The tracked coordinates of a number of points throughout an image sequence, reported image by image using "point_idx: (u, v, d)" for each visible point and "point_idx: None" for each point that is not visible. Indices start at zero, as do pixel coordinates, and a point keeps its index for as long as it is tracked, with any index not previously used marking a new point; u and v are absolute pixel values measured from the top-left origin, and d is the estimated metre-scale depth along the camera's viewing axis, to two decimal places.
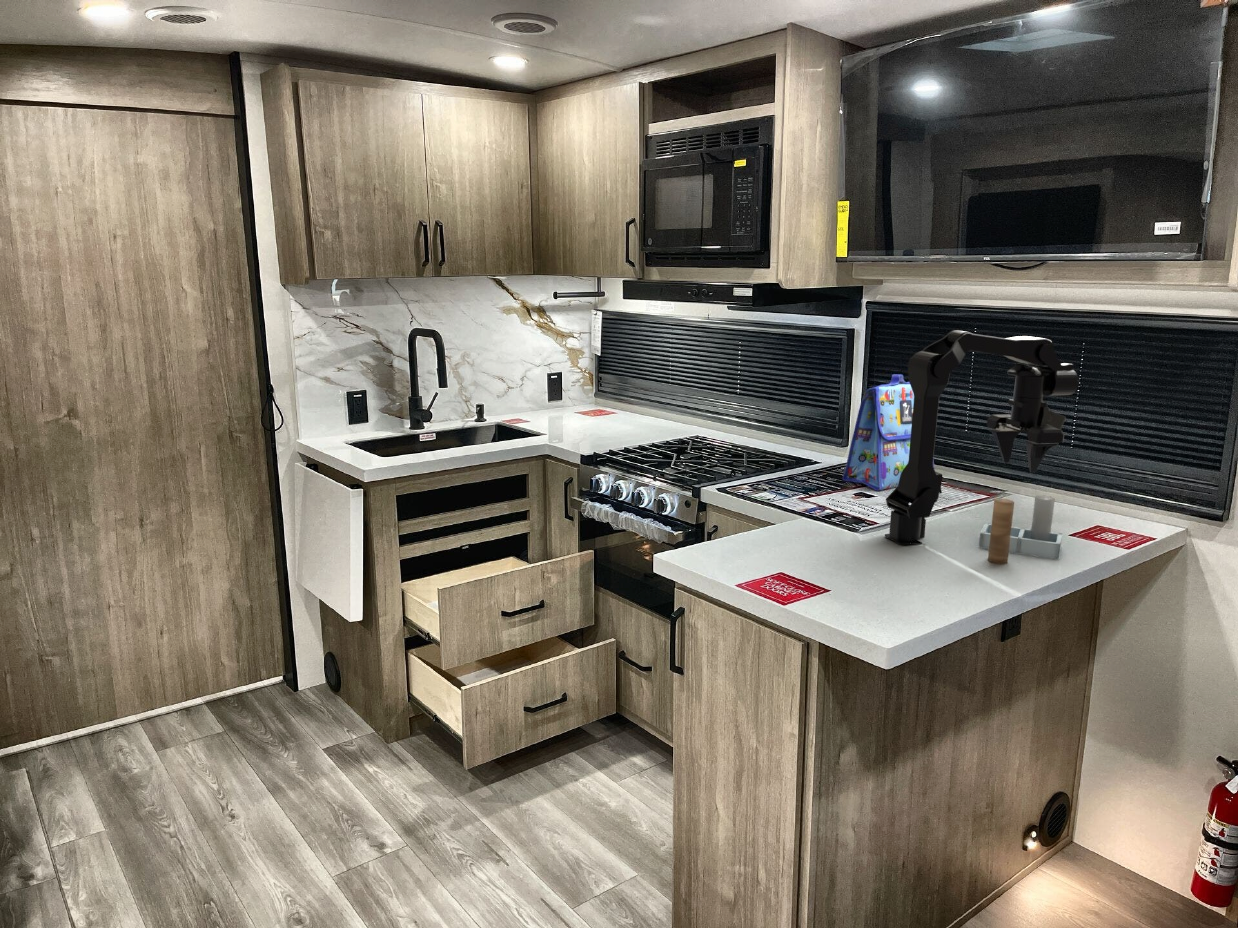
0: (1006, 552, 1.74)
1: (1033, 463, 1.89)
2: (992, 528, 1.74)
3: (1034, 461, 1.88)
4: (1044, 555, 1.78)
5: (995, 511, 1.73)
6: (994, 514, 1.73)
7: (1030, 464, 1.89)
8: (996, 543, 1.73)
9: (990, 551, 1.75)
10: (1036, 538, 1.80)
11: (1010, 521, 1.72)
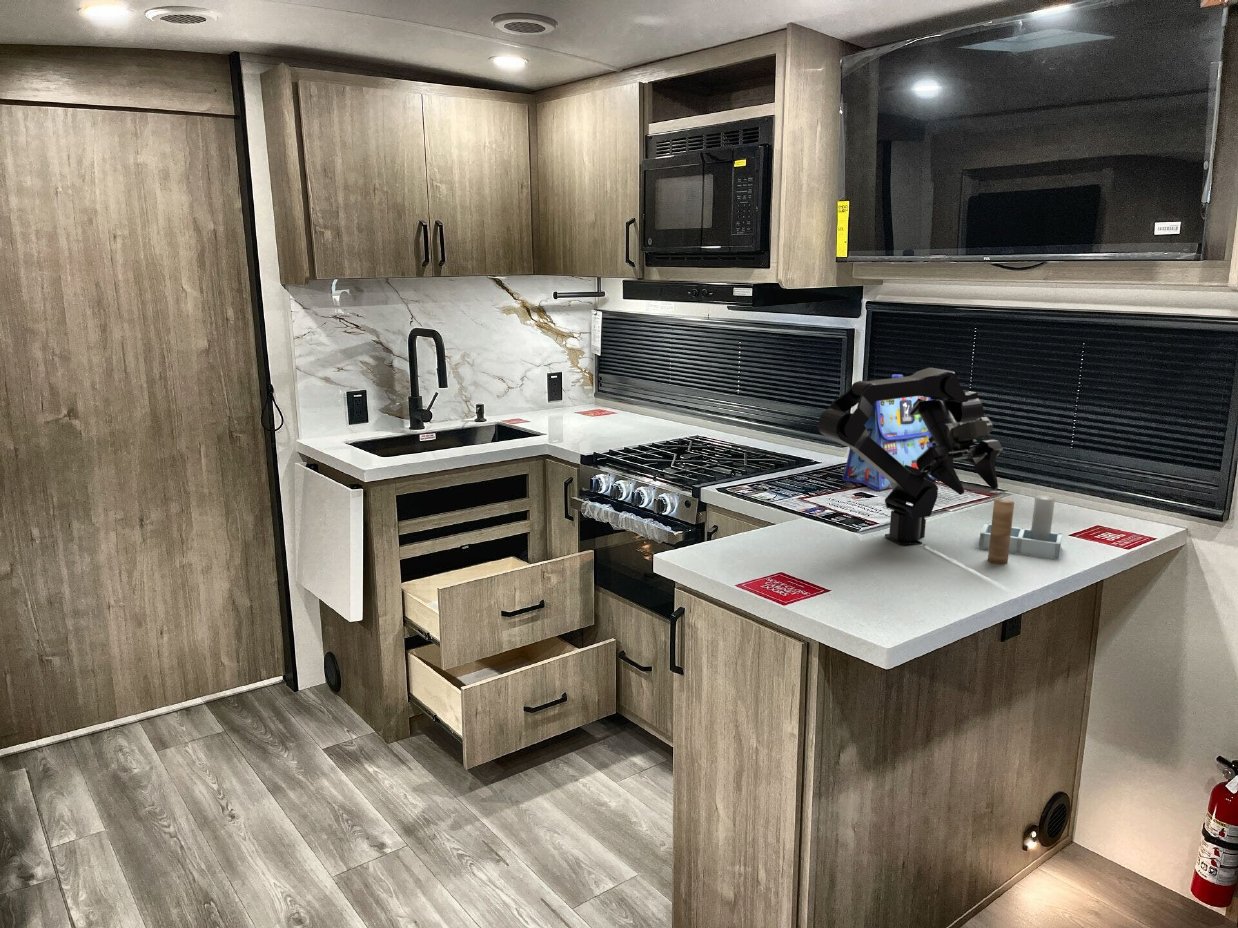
0: (1006, 552, 1.74)
1: (952, 486, 1.77)
2: (992, 528, 1.74)
3: (950, 484, 1.77)
4: (1044, 555, 1.78)
5: (995, 511, 1.73)
6: (994, 514, 1.73)
7: None
8: (996, 543, 1.73)
9: (990, 551, 1.75)
10: (1036, 538, 1.80)
11: (1010, 521, 1.72)
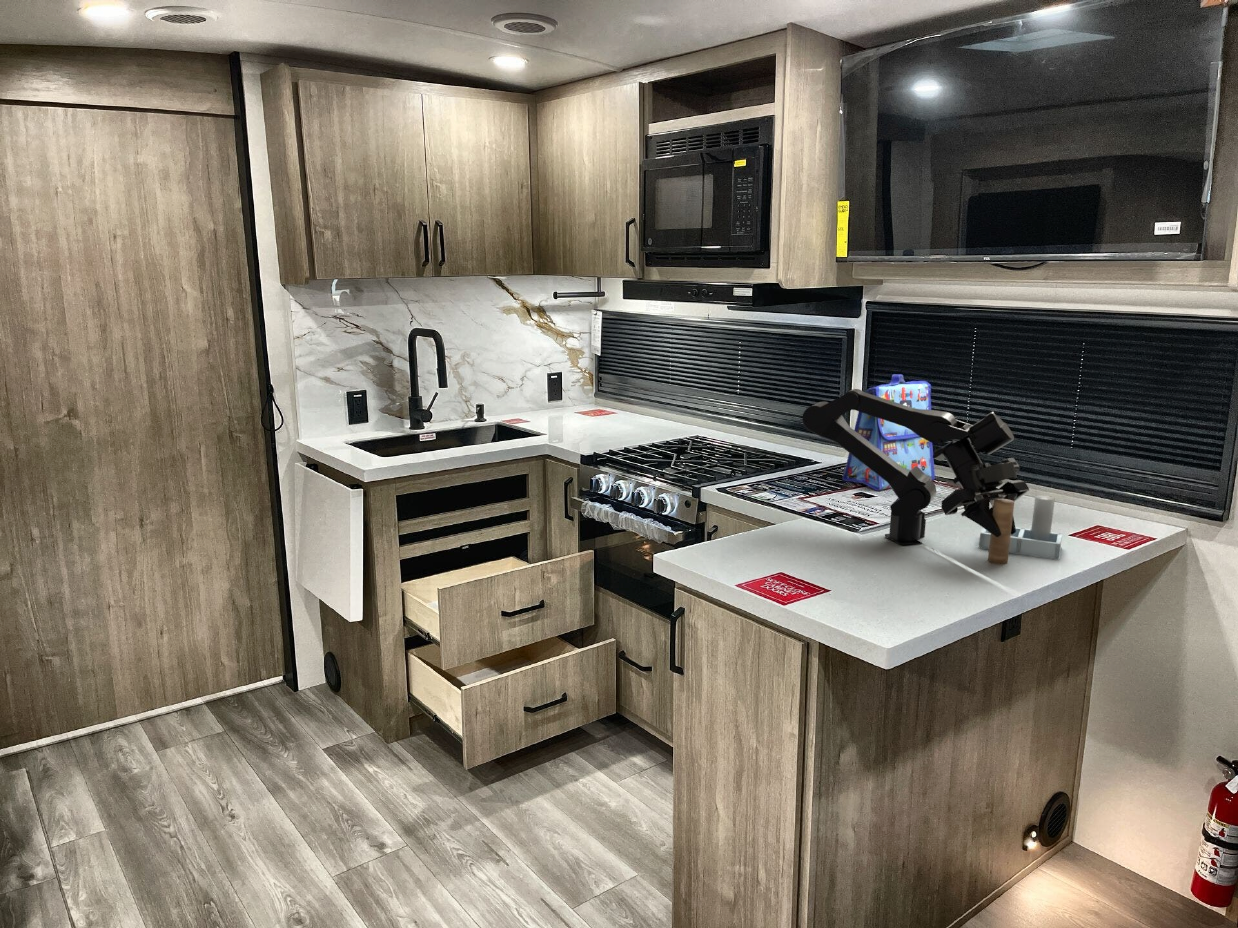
0: (1006, 552, 1.74)
1: (988, 528, 1.73)
2: None
3: (987, 526, 1.73)
4: (1044, 555, 1.78)
5: (995, 511, 1.73)
6: (994, 514, 1.73)
7: None
8: (996, 543, 1.73)
9: (990, 551, 1.75)
10: (1036, 538, 1.80)
11: (1010, 521, 1.72)
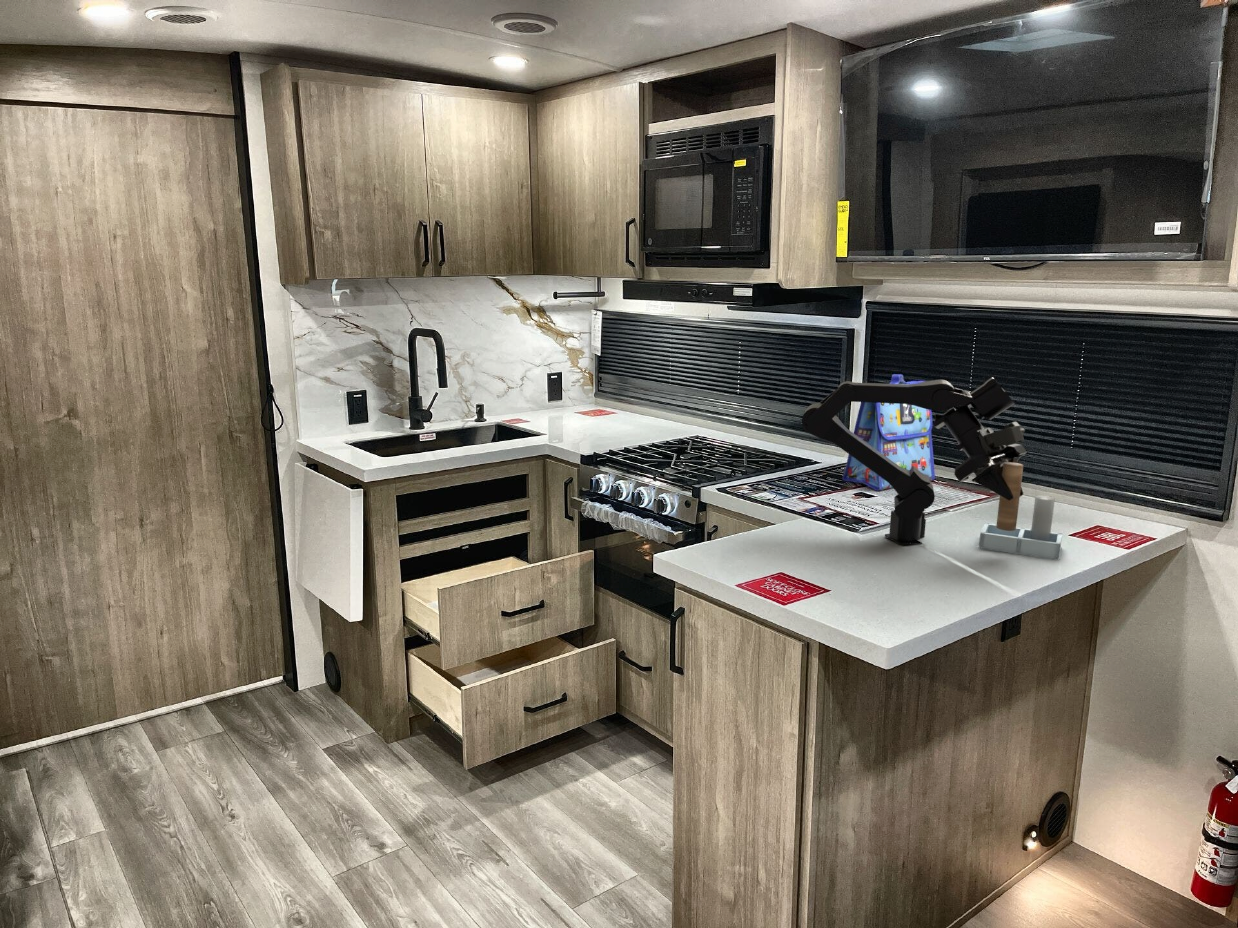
0: (1016, 515, 1.76)
1: (1000, 492, 1.75)
2: None
3: (998, 490, 1.75)
4: (1044, 555, 1.78)
5: (1006, 475, 1.74)
6: (1005, 478, 1.75)
7: (999, 494, 1.75)
8: (1007, 506, 1.75)
9: (1000, 515, 1.76)
10: (1036, 538, 1.80)
11: (1020, 484, 1.74)
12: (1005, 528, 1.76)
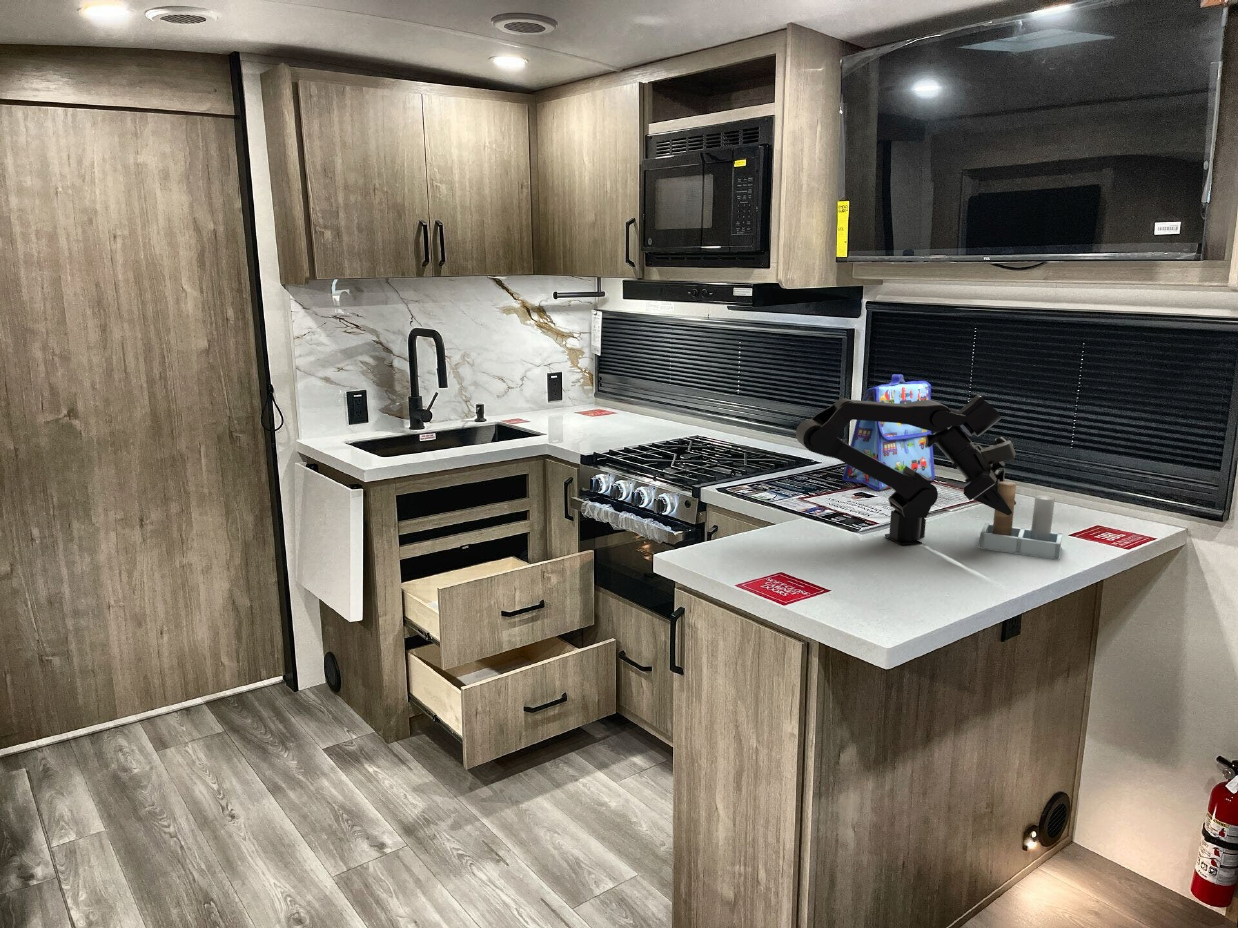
0: (1011, 531, 1.84)
1: (999, 508, 1.80)
2: (999, 511, 1.82)
3: (998, 507, 1.80)
4: (1044, 555, 1.78)
5: (1003, 495, 1.81)
6: None
7: (999, 510, 1.80)
8: (1005, 524, 1.82)
9: (998, 533, 1.83)
10: (1036, 538, 1.80)
11: (1014, 501, 1.82)
12: None
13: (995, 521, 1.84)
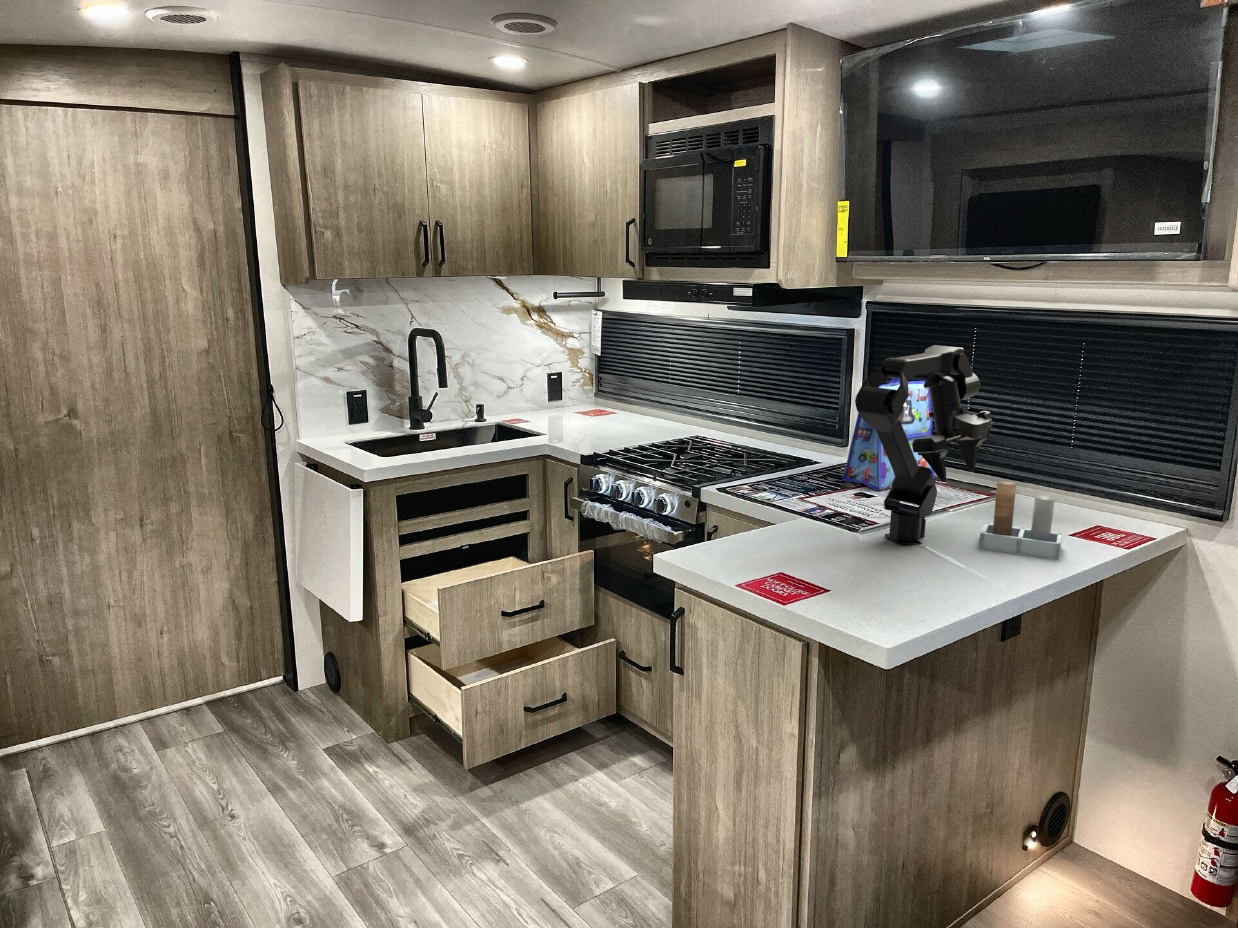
0: (1011, 531, 1.84)
1: (936, 472, 1.89)
2: (999, 511, 1.82)
3: (936, 470, 1.89)
4: (1044, 555, 1.78)
5: (1003, 494, 1.81)
6: (1001, 497, 1.82)
7: None
8: (1005, 524, 1.82)
9: (998, 533, 1.83)
10: (1036, 538, 1.80)
11: (1014, 501, 1.82)
12: None
13: (995, 521, 1.84)
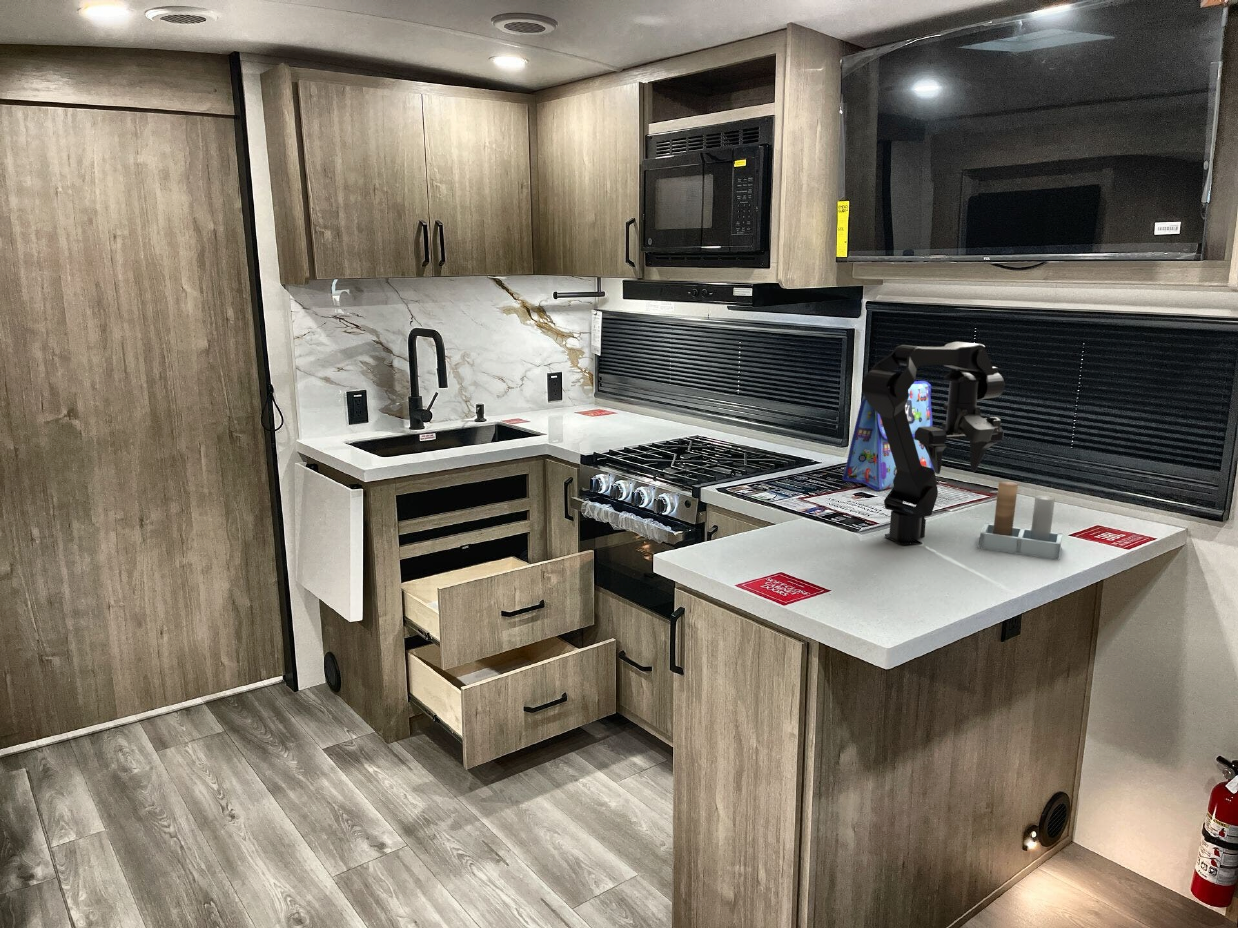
0: None
1: (933, 463, 1.94)
2: (1000, 511, 1.82)
3: (932, 461, 1.93)
4: (1044, 555, 1.78)
5: (1004, 494, 1.81)
6: (1003, 497, 1.82)
7: None
8: (1006, 524, 1.82)
9: (999, 533, 1.83)
10: (1036, 538, 1.80)
11: (1015, 502, 1.82)
12: None
13: (996, 521, 1.84)
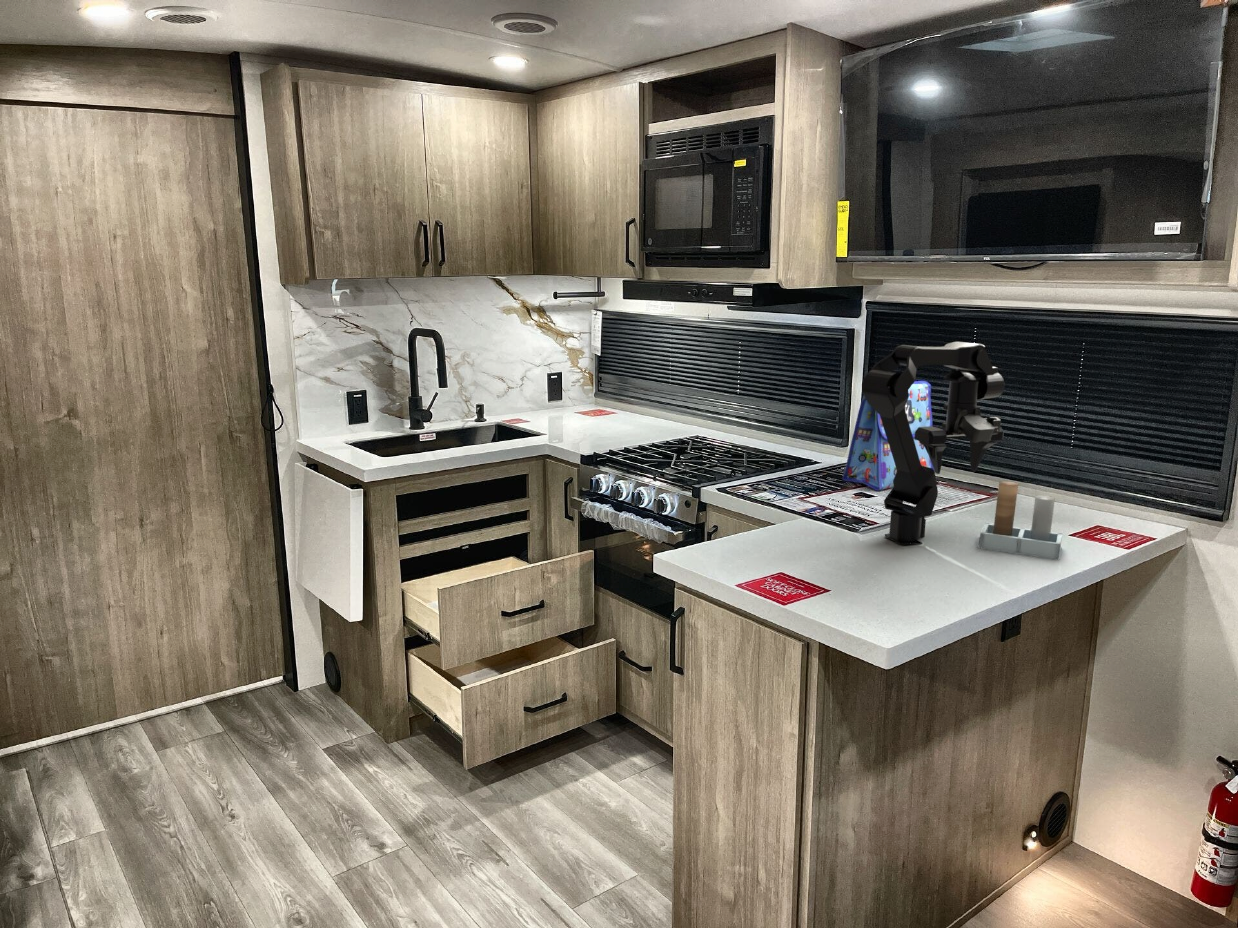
0: None
1: (933, 463, 1.94)
2: (1001, 510, 1.82)
3: (932, 461, 1.93)
4: (1044, 555, 1.78)
5: (1005, 494, 1.81)
6: (1003, 497, 1.82)
7: None
8: (1006, 524, 1.82)
9: (999, 532, 1.83)
10: (1036, 538, 1.80)
11: (1015, 501, 1.83)
12: None
13: (996, 521, 1.84)
